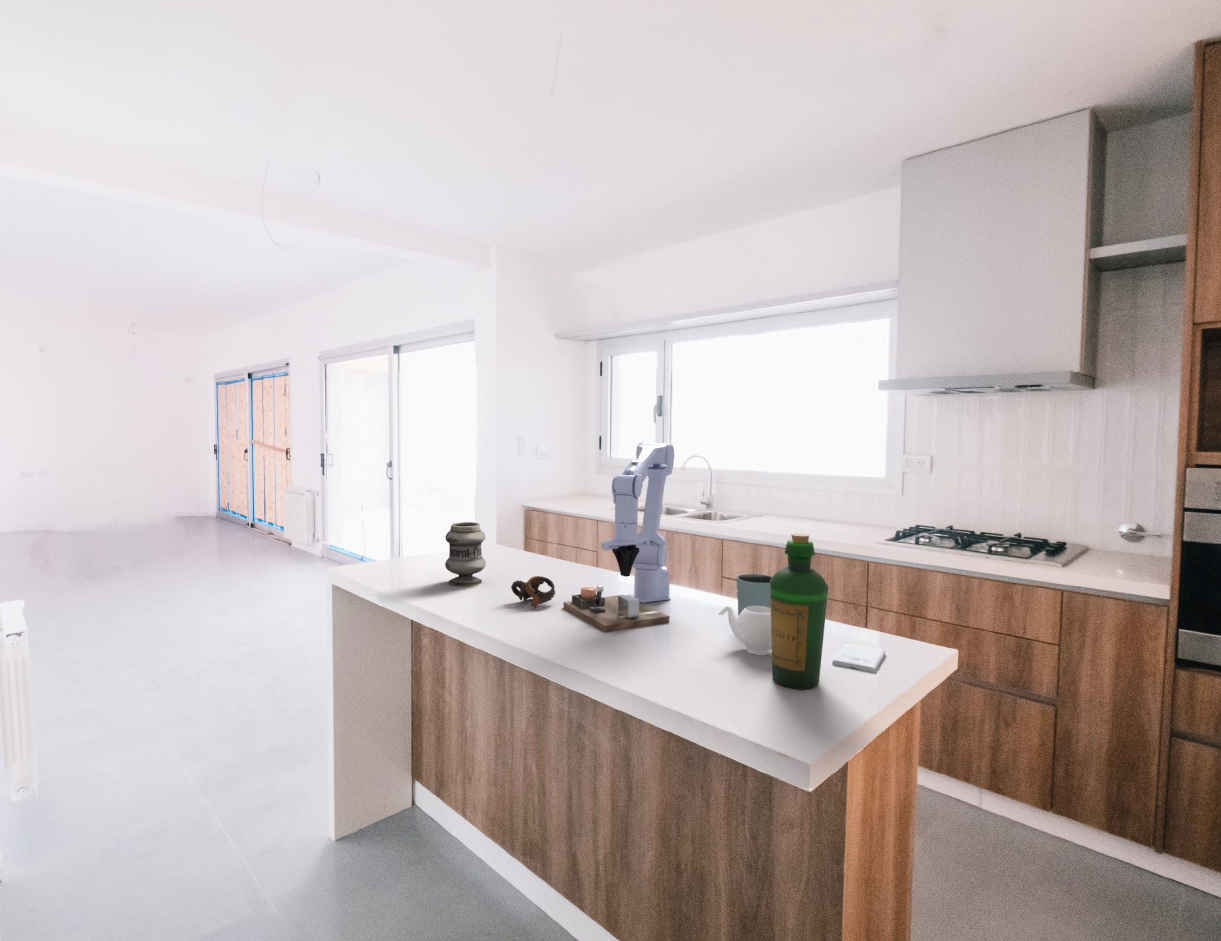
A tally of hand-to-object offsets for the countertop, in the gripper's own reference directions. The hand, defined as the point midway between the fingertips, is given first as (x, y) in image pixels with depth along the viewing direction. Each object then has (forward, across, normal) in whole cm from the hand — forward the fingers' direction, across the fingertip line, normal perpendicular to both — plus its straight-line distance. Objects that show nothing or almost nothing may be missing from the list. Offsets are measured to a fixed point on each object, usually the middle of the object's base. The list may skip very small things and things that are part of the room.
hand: (625, 575), depth 164 cm
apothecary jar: (+11, +16, -56) cm, 59 cm away
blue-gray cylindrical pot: (+11, -20, +26) cm, 34 cm away
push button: (+7, +4, -10) cm, 13 cm away
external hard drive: (+11, -19, +53) cm, 58 cm away
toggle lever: (+7, +6, -3) cm, 10 cm away
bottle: (+10, +2, +52) cm, 53 cm away
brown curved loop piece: (+11, +12, -24) cm, 29 cm away
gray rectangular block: (+9, +2, +4) cm, 10 cm away
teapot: (+11, -6, +37) cm, 39 cm away
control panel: (+10, +1, -2) cm, 11 cm away
